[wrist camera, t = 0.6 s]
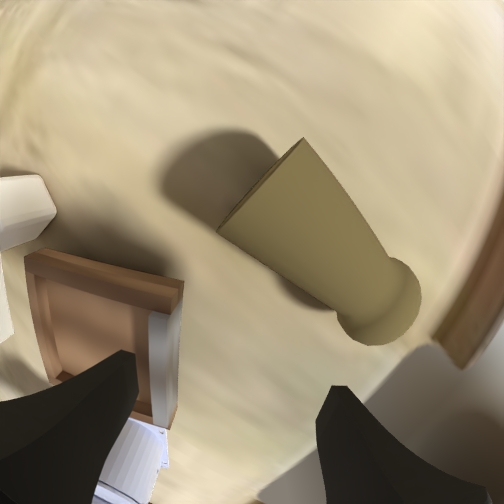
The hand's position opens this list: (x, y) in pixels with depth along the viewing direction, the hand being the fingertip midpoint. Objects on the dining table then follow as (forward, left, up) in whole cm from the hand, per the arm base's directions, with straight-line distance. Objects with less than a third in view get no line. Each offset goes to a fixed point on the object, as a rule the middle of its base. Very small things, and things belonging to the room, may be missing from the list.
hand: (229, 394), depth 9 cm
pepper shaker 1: (+4, +17, -9) cm, 20 cm away
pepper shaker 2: (+7, 0, -6) cm, 9 cm away
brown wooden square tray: (-4, +9, -9) cm, 13 cm away
